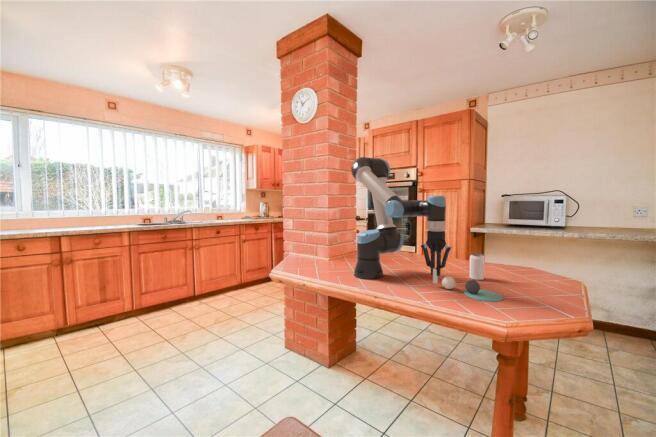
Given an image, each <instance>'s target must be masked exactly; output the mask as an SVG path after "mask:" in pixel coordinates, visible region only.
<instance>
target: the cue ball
mask: <svg viewBox="0 0 656 437" xmlns="http://www.w3.org/2000/svg"><path fill="white" fill-rule="evenodd" d="M441 285H442V287H444V289H446V290H452V289H453V288H455V286H456V280H455V279H454V278H453V277H452V276H450V275H449V276H448V275H447V276H444V277H443V278H442V279H441Z"/></svg>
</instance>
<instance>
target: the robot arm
mask: <svg viewBox="0 0 656 437" xmlns="http://www.w3.org/2000/svg"><path fill="white" fill-rule="evenodd" d="M350 172H351V175H352V177H353V179H355V181H357V182H358V183H362V185H364V187H365V188H366V189H367V190H369V192H370V193H371V196H372V198H371V199H372V203H373V208H374V213H375V219H376V226H377V227H376V228H375V229H368V230H367V229H366V230H362V231H360V232H358V233H357V237H356V243H357V244H356V245H357V246H356V247H357V248H356V251H357V253H356V255H357V256H356V258H357V259H356V264H355V267H354V270H353V276H354V277H356V278H359V279H365V280H370V279H371V280H375V279H380V278H382V277H384V270H383V267H382V264H381V260H380V258H381V257H380V256H381V255H383V254H392V253H396V252H398V251H400V250H401V248H402V247H403V245H404V235H403V233H401V231H399V230H398V227H397V226H396V225H395V224H394V221H393V218H394V219H396V218H408V217H409V218H410V217H427V221H426V222H427V223H426V224H427V226H426V227H427V228H426V229H427V232H426V242H425V243H424V244H422V245H420V247H421V250H422V251H423V255H424V259H425V264H426V266H427V267H429V268H430V275H431V276H432V283H433V284H438V283H439V277H440V276H441V269H444V268H445V267H446V265H447V261H448V258H449V254H450V251H451V250H452V246H449V245H448V244H447V242H446V231H445V230H446V210H447V204H446V197H445V196H444V195H429V196H427V199H426V200H419V199H418V200H416V199H415V200H414V199H413V200H403V199H401V197H399V195H397V194H396V193H395V192H394V191H393V190H392V189H391V188H390V187H389V186H388V185H386V183H387V182H388V177H389V176H390V173H391V166H390V163H388V161H387V160H386V159H384V158H379V157H366V156H365V157H364V156H363V157H362V156H361V157H357V158H356V159H355V160H354V161H353V162H352V164H351V167H350ZM429 250H430V251H429ZM442 250H444V252H443V257H442Z"/></svg>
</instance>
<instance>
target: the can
mask: <svg viewBox="0 0 656 437" xmlns="http://www.w3.org/2000/svg"><path fill="white" fill-rule="evenodd" d="M485 264H486V260H485V256H484V254H483V253H482V254H481V253H471V254H470V256H469V278H470V280H474V281H483V280H484V279H485V267H486V266H485Z"/></svg>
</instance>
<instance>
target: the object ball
mask: <svg viewBox="0 0 656 437" xmlns="http://www.w3.org/2000/svg"><path fill="white" fill-rule="evenodd" d="M464 288H465V291H466V290H467V291H468V292H469V293H472V294H475V293H478V292H479V290H481V284H479V282H478V281H477V280H473V279H470V280H467V282H466V283H465V286H464Z"/></svg>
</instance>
